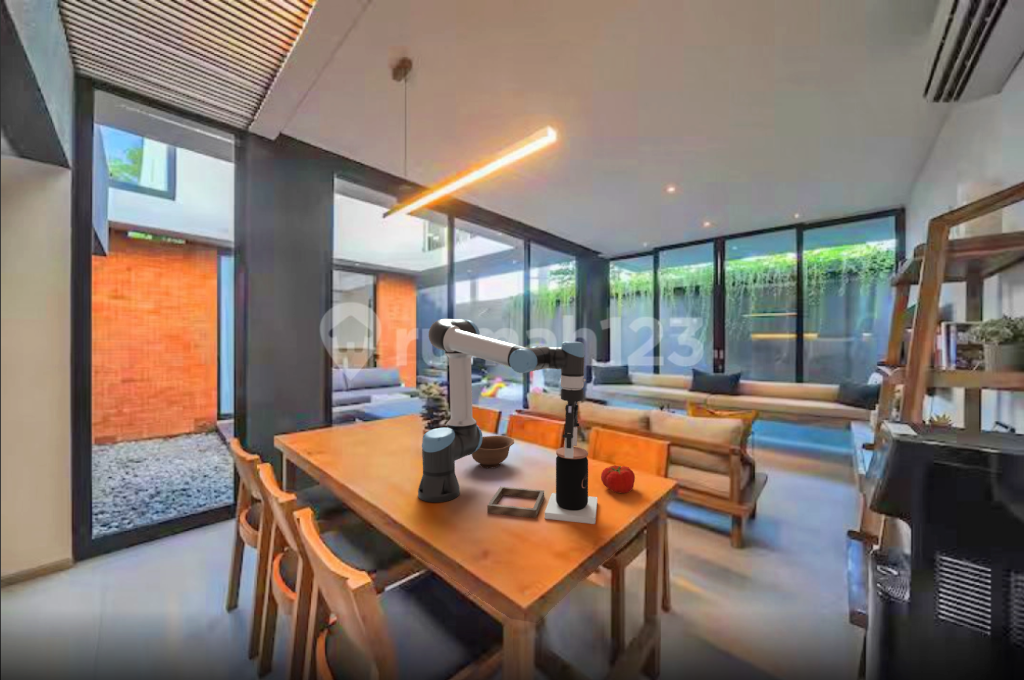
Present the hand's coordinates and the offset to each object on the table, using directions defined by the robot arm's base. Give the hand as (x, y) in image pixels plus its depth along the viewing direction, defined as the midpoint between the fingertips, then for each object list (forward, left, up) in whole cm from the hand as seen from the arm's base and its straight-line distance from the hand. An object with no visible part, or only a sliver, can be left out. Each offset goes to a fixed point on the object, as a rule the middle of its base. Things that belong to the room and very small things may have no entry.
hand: (571, 451), depth 138 cm
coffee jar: (0, 0, -18) cm, 18 cm away
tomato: (+15, +21, -20) cm, 33 cm away
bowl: (-40, +37, -20) cm, 58 cm away
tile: (0, 0, -20) cm, 20 cm away
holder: (-19, 0, -20) cm, 27 cm away
